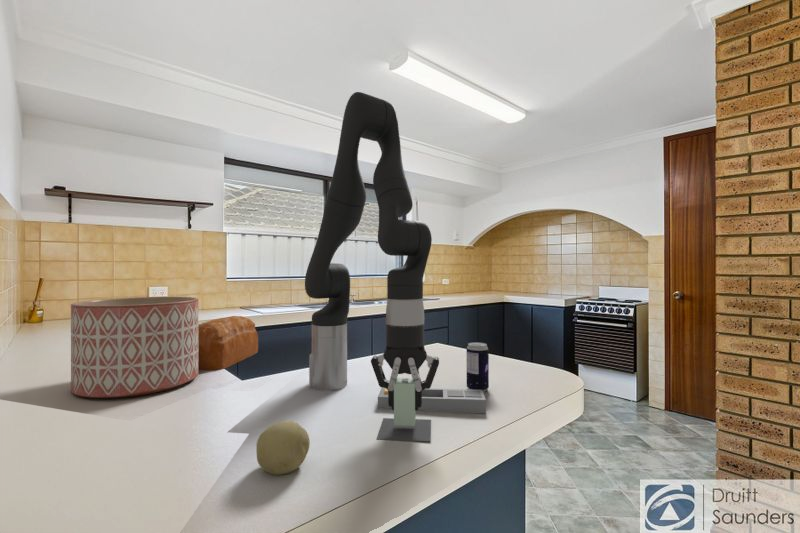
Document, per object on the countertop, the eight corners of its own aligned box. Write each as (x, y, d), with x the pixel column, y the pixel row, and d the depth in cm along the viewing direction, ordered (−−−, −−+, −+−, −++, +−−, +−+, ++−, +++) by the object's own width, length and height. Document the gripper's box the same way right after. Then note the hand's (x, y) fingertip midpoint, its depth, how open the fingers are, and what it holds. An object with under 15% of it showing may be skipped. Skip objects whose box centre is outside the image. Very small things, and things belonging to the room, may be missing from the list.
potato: (304, 484, 58) (304, 431, 58) (250, 487, 57) (250, 432, 57) (312, 459, 65) (312, 412, 65) (264, 461, 65) (264, 413, 65)
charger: (394, 425, 75) (393, 382, 75) (395, 417, 79) (395, 376, 79) (414, 425, 74) (414, 383, 74) (415, 417, 78) (415, 377, 78)
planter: (41, 404, 92) (41, 304, 92) (145, 373, 118) (145, 295, 119) (131, 415, 85) (131, 307, 85) (220, 380, 111) (220, 297, 111)
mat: (376, 441, 72) (376, 439, 72) (383, 420, 82) (383, 418, 82) (430, 443, 71) (430, 441, 71) (431, 421, 81) (431, 419, 81)
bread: (261, 356, 140) (261, 313, 140) (220, 377, 114) (220, 324, 114) (225, 356, 142) (225, 313, 142) (176, 376, 116) (176, 323, 116)
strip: (377, 410, 88) (377, 394, 88) (381, 399, 95) (381, 384, 95) (485, 413, 86) (485, 397, 86) (482, 402, 93) (482, 387, 93)
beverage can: (488, 394, 99) (488, 346, 99) (466, 392, 100) (466, 345, 100) (488, 387, 104) (488, 342, 104) (466, 385, 105) (466, 341, 105)
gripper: (366, 323, 73) (366, 415, 73) (441, 324, 72) (441, 417, 72) (372, 318, 81) (372, 401, 81) (440, 319, 80) (441, 403, 80)
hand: (405, 408), depth 77 cm, fingers closed on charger, 3 cm apart
